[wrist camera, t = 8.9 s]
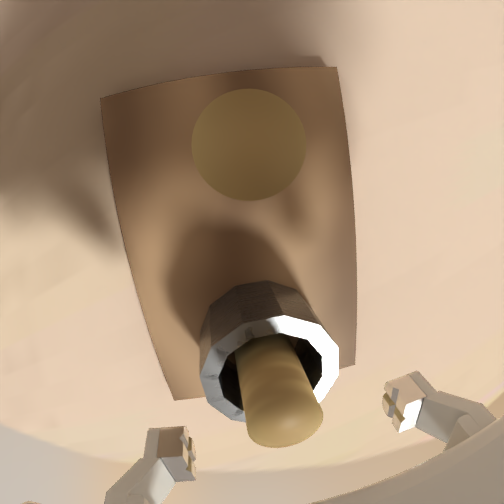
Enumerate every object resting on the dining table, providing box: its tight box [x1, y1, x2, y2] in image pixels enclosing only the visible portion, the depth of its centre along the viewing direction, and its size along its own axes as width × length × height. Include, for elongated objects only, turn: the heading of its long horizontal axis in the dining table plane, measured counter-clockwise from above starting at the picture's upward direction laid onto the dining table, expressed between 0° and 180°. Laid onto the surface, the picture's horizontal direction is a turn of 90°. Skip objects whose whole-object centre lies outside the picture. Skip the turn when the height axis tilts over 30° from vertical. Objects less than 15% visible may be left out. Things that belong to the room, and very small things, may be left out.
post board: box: [100, 67, 357, 448], centre depth 13 cm, size 12×18×8 cm, turn 8°
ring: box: [199, 280, 338, 422], centre depth 15 cm, size 6×6×4 cm
